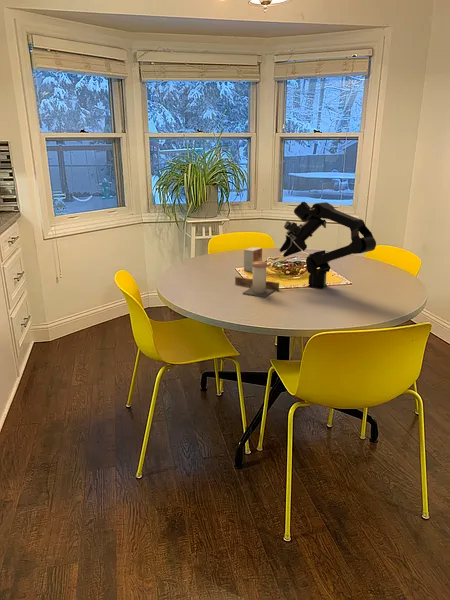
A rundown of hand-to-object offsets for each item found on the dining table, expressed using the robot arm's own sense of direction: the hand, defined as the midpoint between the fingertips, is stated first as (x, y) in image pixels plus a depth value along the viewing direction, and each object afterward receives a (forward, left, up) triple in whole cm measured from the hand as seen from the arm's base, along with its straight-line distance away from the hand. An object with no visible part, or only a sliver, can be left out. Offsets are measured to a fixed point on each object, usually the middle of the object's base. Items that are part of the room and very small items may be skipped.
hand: (281, 253), depth 195 cm
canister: (+4, +15, -13) cm, 20 cm away
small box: (+21, -17, -14) cm, 30 cm away
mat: (+4, +15, -14) cm, 21 cm away
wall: (+8, +8, -14) cm, 18 cm away
